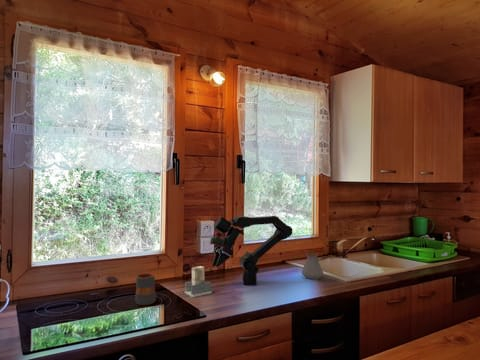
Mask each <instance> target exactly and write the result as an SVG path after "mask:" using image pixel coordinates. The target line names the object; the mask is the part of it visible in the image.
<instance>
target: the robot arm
mask: <svg viewBox="0 0 480 360" xmlns="http://www.w3.org/2000/svg"><path fill="white" fill-rule="evenodd" d="M256 225H257V226H258V225H272V226H273V227H274V228H275V230H274V233H273V235H271V236H270V237H269V238H268V239H266V240H265V241H264V242H263V243H262V244H261V245H260V246H258V247H257V248H256V249H254V250H253V251H252V252H249V251H246V252H245V253H244V254H243V255H241V256H240V257H241V258H239V265H240V267H242V270H244V271H243V274H242V284H243V286H257V284H258V273H259V268H258V267H257V266H256V265H257V263H258V262H259V260H260V259H261V258H262V257H263V256H265V254H267V252H269V251H270V250H271V249H272V248H273V247H275V246H276V245H277V244H278V243H279V242H281V241H284V240H286V239H288V238H289V237H291V236H292V235H293V228H292V226H289V225H288V224H286V223H285V222H284V221H282V220H281V219H280V217H279V216H276V215H270V216H269V215H268V216H266V215H265V216H245V215H236V216H235V217H234V218H233V219H230V220H228V219H226V218H225V217H223V216H220V217H219V218H218V219H217V220H216V221H215V222H214V224H213V228H214V230H216V231H218V232H219V233H221V234H225V235H224V237H222V238H221V236H220V235H215V236H213V237H210V241H209V245H216V247H215V246H214V249H213V253H214V257H213V262H212V267H215V266H216V267H217V268H219V267H220V266H221V265H222V264H224V263H225V262H226V261H227V260H229V259H230V258H231V257H233V256H234V253H235V252H234V249H232V248H233V246H235V245H236V241H237V239H238V238H239V235H240V236H243V235H245V233H244V229H246V228H249V227H251V226H252V227H253V226H256Z"/></svg>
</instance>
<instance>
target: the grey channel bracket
mask: <svg viewBox="0 0 480 360" xmlns="http://www.w3.org/2000/svg"><path fill="white" fill-rule="evenodd" d="M184 287H185V288H184V289H185V290H184V294H186V295H188V296H190V297H191V298H195V297H196V298H197V297H200V296H205V295H209V294H212V293H213V291H212V282H211V281H206V279H205V278H204V283H200V284H195V285H192V280H190V281H186V282H184Z"/></svg>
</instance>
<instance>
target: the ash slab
mask: <svg viewBox="0 0 480 360" xmlns="http://www.w3.org/2000/svg"><path fill="white" fill-rule="evenodd" d="M204 279H205V267H204V266H203V265H202V266H201V265H199V266H194V267H191V281H192V285H195V284H200V283H204Z"/></svg>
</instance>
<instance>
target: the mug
mask: <svg viewBox="0 0 480 360" xmlns="http://www.w3.org/2000/svg"><path fill="white" fill-rule="evenodd" d="M135 280H136V281H135V287H136V288H135V289H136V290H135V295H134V296H135V297H134V298H135V299H134V300H135V301H134V302H135V304H136V305H138V306H149V305H150V306H151V305H153V304H155V303H156V299H157V297H156V296H157V295H156V290H155V289H156V288H155V285H156V280H155V274H153V273H141V274H138V275H136V277H135Z"/></svg>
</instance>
